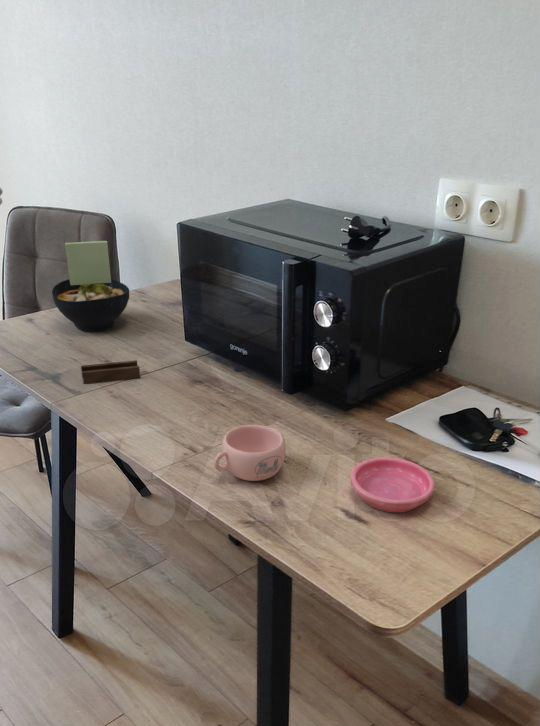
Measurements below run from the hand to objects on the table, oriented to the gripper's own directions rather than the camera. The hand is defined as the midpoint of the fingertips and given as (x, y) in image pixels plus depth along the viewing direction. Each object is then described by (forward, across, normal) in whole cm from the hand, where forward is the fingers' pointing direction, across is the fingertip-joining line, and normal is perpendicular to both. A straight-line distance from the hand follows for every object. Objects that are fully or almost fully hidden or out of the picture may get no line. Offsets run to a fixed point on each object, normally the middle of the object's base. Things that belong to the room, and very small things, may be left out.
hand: (0, 199), depth 140 cm
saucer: (+57, -78, -16) cm, 98 cm away
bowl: (+32, +5, +10) cm, 34 cm away
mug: (+44, -67, -2) cm, 80 cm away
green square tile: (+25, +5, +2) cm, 25 cm away
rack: (+32, -25, +10) cm, 42 cm away
